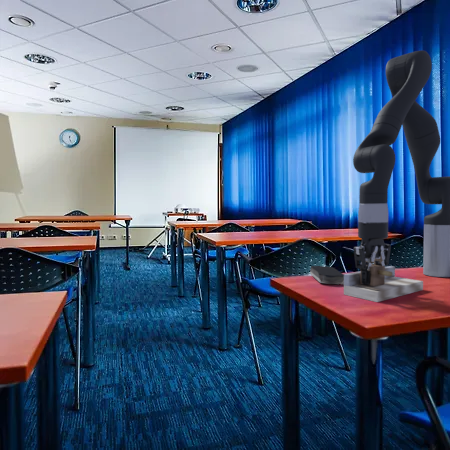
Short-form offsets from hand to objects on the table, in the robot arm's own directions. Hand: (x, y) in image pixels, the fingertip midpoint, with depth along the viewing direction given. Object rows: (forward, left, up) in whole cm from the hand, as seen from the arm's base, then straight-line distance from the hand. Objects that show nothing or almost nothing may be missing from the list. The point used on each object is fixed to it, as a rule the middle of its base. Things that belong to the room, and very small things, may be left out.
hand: (372, 282), depth 99 cm
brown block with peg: (0, +2, 0) cm, 2 cm away
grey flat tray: (-4, +1, -3) cm, 5 cm away
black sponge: (-5, -20, -4) cm, 21 cm away
